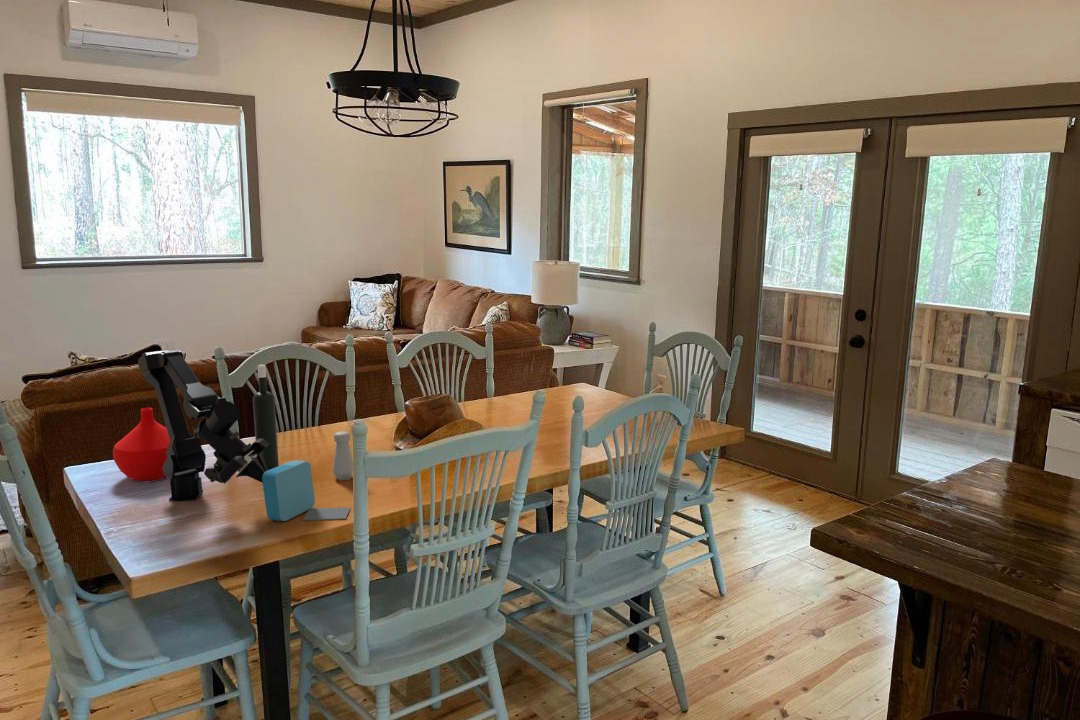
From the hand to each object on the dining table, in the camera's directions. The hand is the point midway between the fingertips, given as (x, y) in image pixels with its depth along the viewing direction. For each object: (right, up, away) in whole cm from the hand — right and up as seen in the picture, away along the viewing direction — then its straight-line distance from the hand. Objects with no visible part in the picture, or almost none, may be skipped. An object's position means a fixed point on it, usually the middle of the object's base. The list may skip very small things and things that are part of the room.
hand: (270, 483), depth 194 cm
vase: (-42, -3, +29) cm, 52 cm away
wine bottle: (-13, -1, +36) cm, 38 cm away
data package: (+5, -8, +2) cm, 9 cm away
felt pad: (+13, -8, +2) cm, 15 cm away
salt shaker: (+11, -3, +28) cm, 30 cm away
